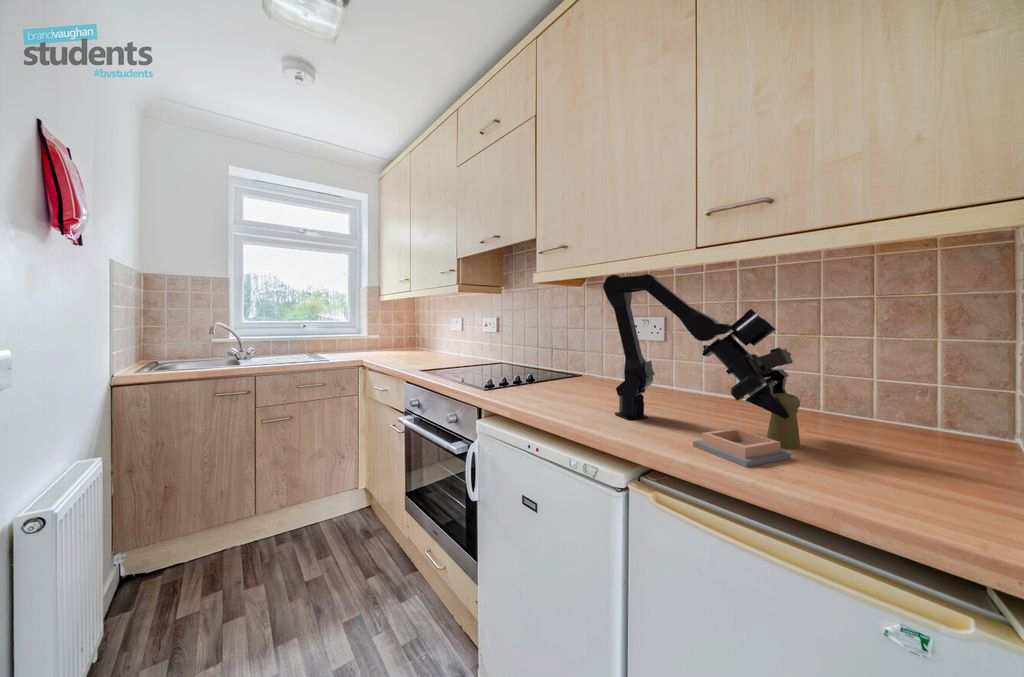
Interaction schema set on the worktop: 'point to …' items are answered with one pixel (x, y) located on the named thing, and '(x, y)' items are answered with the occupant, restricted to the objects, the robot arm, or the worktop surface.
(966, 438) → the worktop surface
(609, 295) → the robot arm
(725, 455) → the stand
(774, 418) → the olive pepper mill
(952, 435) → the worktop surface
